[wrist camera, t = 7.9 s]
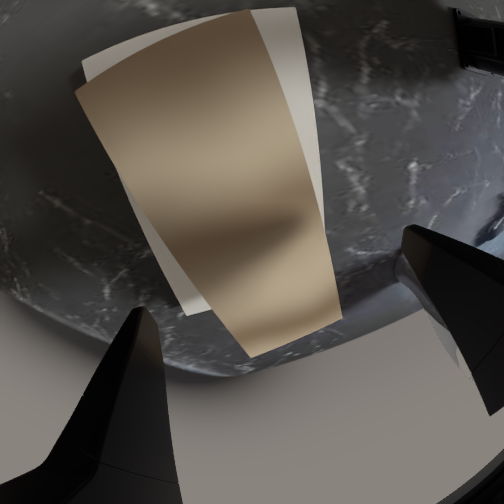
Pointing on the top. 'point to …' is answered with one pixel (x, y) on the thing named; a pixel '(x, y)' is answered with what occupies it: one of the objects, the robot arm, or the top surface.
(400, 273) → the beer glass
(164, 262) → the peg stand
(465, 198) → the top surface
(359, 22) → the top surface
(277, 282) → the maple board
